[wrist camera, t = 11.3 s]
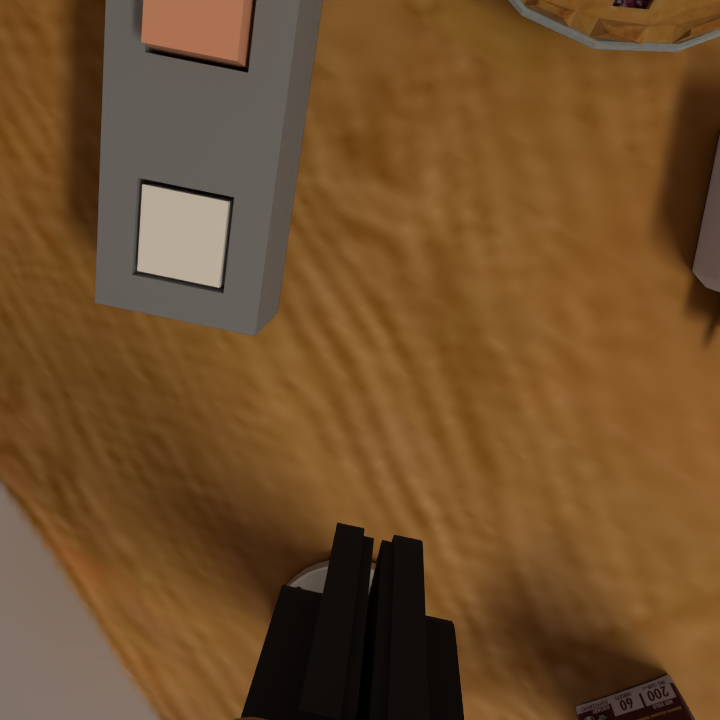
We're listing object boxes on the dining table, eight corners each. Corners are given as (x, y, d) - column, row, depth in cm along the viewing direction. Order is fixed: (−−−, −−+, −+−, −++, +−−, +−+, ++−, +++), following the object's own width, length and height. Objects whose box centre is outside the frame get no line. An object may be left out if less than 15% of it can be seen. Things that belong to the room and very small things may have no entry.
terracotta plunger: (266, 81, 34) (237, 61, 28) (186, 64, 34) (140, 41, 28) (277, -14, 32) (249, -55, 26) (193, -30, 32) (147, -75, 27)
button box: (277, 313, 39) (254, 336, 34) (140, 284, 40) (95, 302, 34) (329, -48, 32) (312, -97, 27) (162, -81, 33) (110, -136, 27)
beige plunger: (247, 271, 39) (219, 287, 33) (177, 257, 39) (137, 270, 33) (256, 198, 37) (228, 201, 31) (183, 183, 37) (142, 184, 31)
